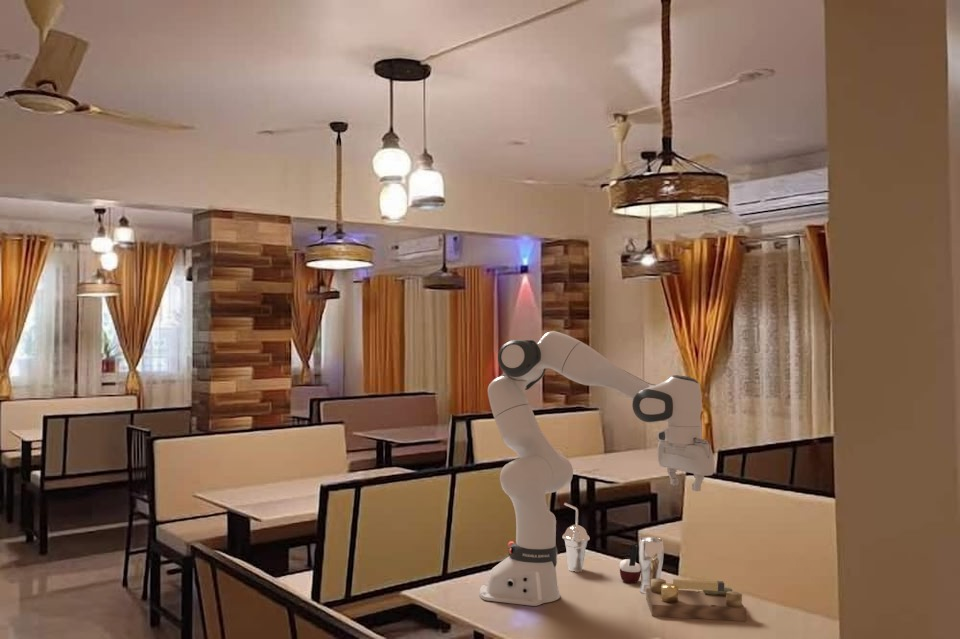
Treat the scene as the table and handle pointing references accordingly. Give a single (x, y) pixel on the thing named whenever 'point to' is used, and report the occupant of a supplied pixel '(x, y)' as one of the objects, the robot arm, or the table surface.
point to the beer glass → (650, 560)
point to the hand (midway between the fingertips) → (685, 487)
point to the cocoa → (630, 567)
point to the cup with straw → (575, 544)
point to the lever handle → (671, 590)
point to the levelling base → (697, 603)
